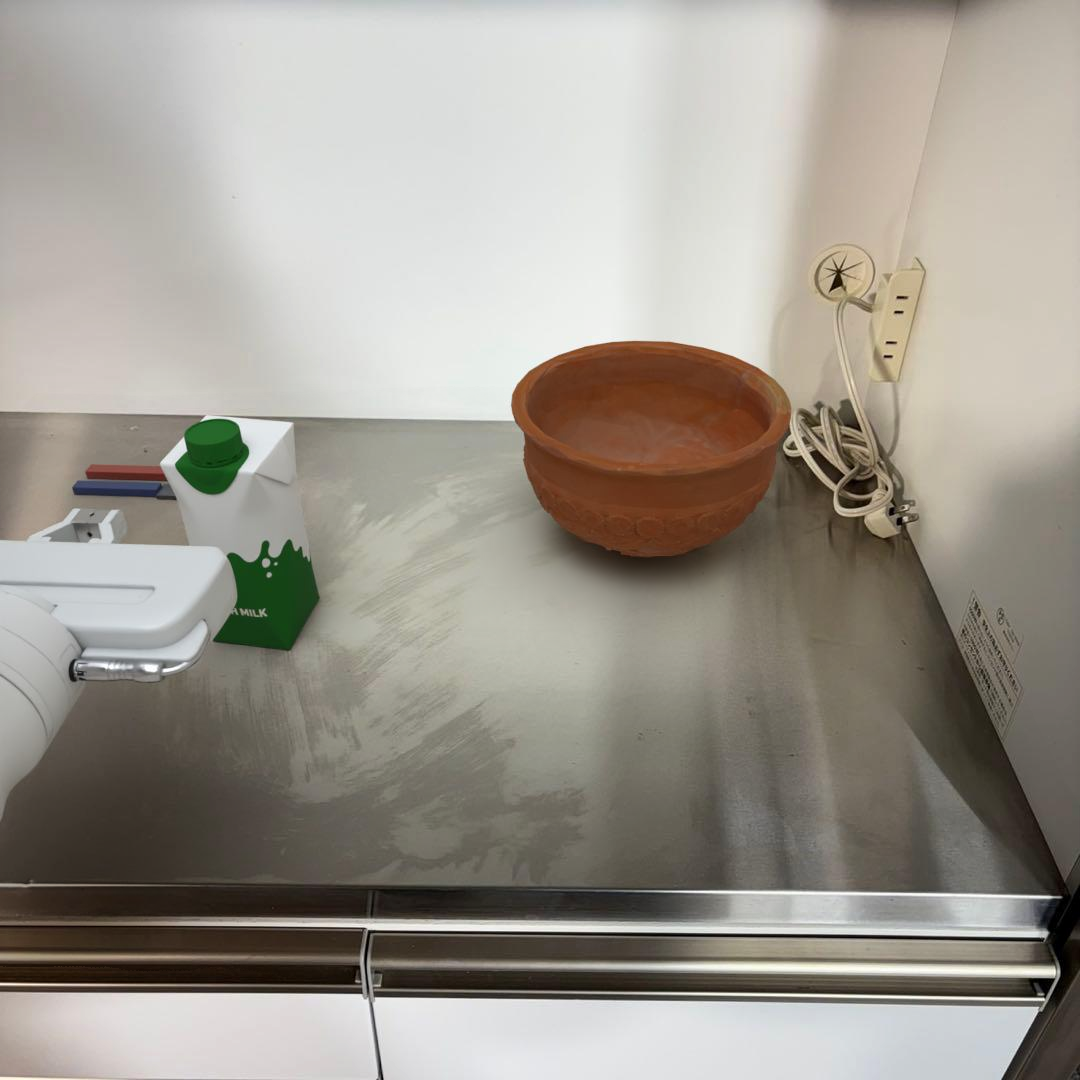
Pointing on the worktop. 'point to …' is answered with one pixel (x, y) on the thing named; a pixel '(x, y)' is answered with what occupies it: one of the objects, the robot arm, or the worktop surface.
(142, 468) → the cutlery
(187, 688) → the worktop surface
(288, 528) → the milk carton
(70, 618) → the robot arm
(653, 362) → the bowl
